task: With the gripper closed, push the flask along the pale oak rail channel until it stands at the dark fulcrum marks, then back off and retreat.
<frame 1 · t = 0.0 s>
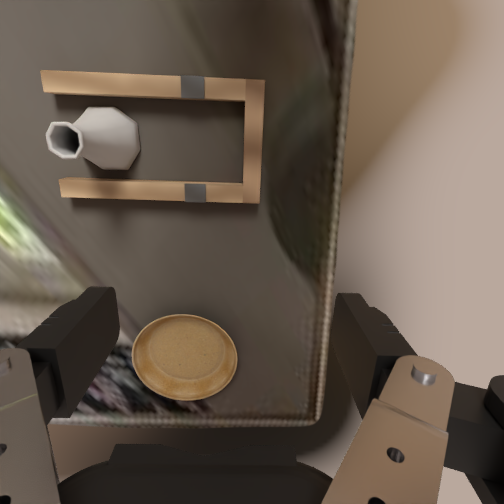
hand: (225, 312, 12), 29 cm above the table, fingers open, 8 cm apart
flask: (110, 139, 37), on the table
beam channel: (153, 140, 37), on the table
plant saucer: (188, 347, 48), on the table
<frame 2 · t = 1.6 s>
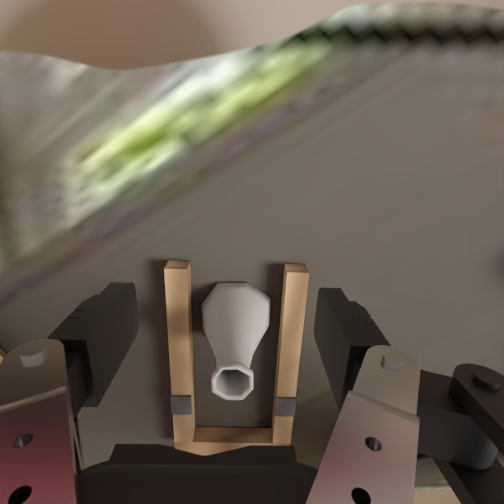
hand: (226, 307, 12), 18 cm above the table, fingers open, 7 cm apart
flask: (236, 311, 33), on the table
beam channel: (235, 353, 34), on the table
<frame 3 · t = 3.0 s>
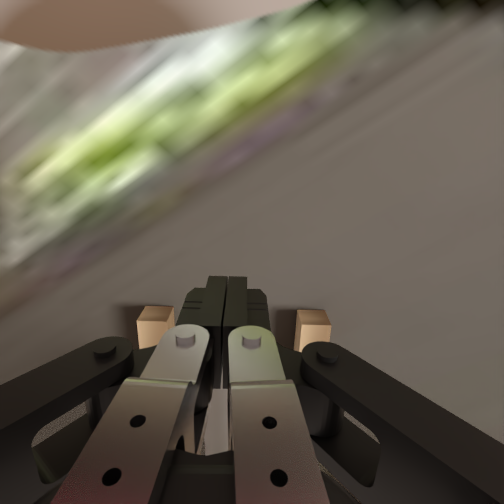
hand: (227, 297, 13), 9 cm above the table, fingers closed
flask: (234, 367, 25), on the table
beam channel: (233, 418, 27), on the table
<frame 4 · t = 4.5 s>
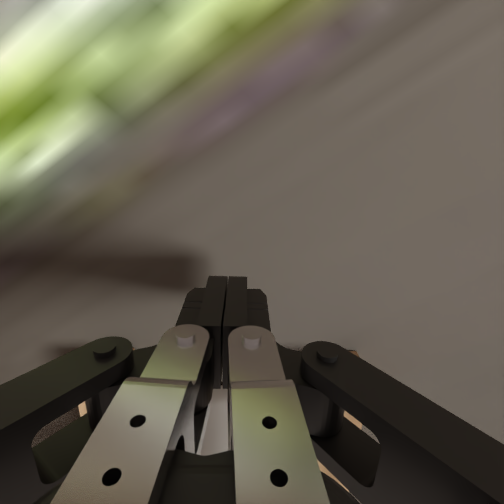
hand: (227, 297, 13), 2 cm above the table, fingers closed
flask: (226, 427, 18), on the table
beam channel: (225, 493, 19), on the table
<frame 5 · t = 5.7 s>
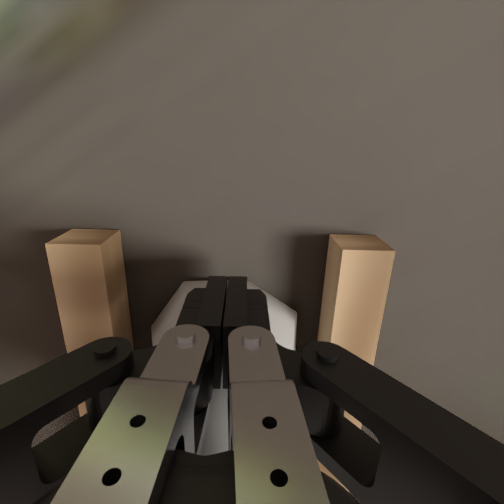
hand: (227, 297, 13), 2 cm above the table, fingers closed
flask: (225, 339, 16), on the table, touching gripper
beam channel: (225, 417, 17), on the table
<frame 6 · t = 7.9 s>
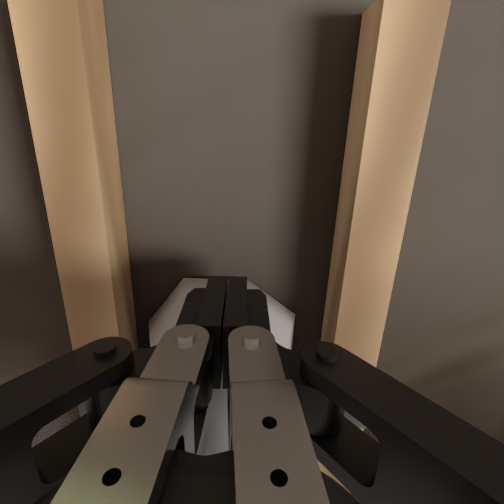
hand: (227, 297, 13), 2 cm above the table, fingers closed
flask: (222, 337, 16), on the table, touching gripper
beam channel: (230, 282, 15), on the table
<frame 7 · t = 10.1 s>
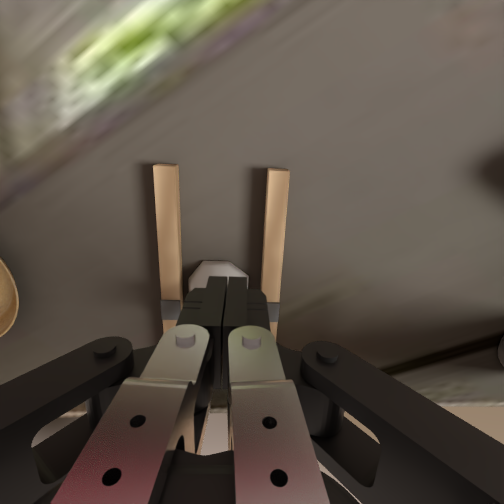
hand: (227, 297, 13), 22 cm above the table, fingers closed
flask: (218, 286, 37), on the table
beam channel: (222, 262, 36), on the table
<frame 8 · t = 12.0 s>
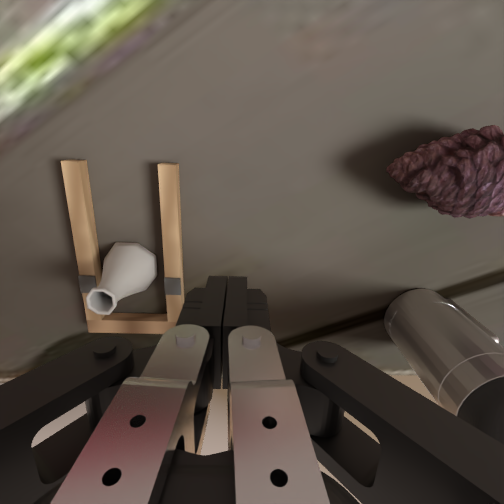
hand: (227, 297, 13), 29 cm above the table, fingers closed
pine cone: (441, 168, 40), on the table
flask: (132, 265, 44), on the table
beam channel: (132, 243, 42), on the table
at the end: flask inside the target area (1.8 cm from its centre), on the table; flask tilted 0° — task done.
